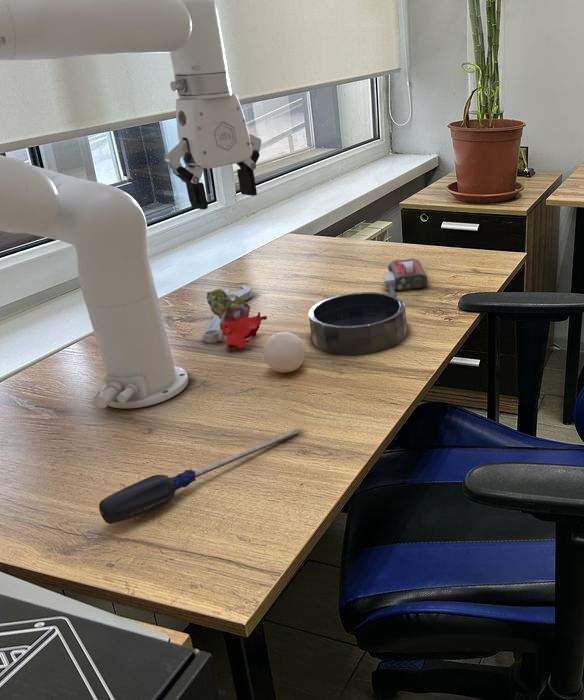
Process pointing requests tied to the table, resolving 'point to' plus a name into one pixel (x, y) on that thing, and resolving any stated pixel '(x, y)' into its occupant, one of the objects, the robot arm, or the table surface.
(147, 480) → the screwdriver
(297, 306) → the table surface
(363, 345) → the bowl
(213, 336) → the adjustable wrench
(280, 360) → the white ball
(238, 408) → the table surface
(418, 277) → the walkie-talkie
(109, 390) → the robot arm
